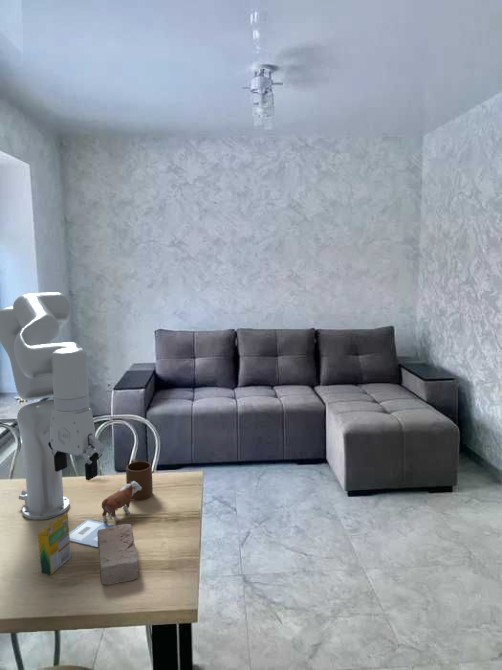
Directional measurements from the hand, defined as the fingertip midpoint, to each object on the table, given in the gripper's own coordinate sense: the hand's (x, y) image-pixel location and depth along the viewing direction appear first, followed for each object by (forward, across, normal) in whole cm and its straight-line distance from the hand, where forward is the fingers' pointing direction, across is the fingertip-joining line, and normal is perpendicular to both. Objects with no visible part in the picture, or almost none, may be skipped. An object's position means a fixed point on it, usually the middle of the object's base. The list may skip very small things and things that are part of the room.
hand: (76, 473), depth 118 cm
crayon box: (+22, -4, -4) cm, 23 cm away
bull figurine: (+22, -6, +21) cm, 31 cm away
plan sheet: (+22, -4, +10) cm, 25 cm away
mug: (+22, -10, +33) cm, 41 cm away
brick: (+22, +8, +3) cm, 24 cm away
